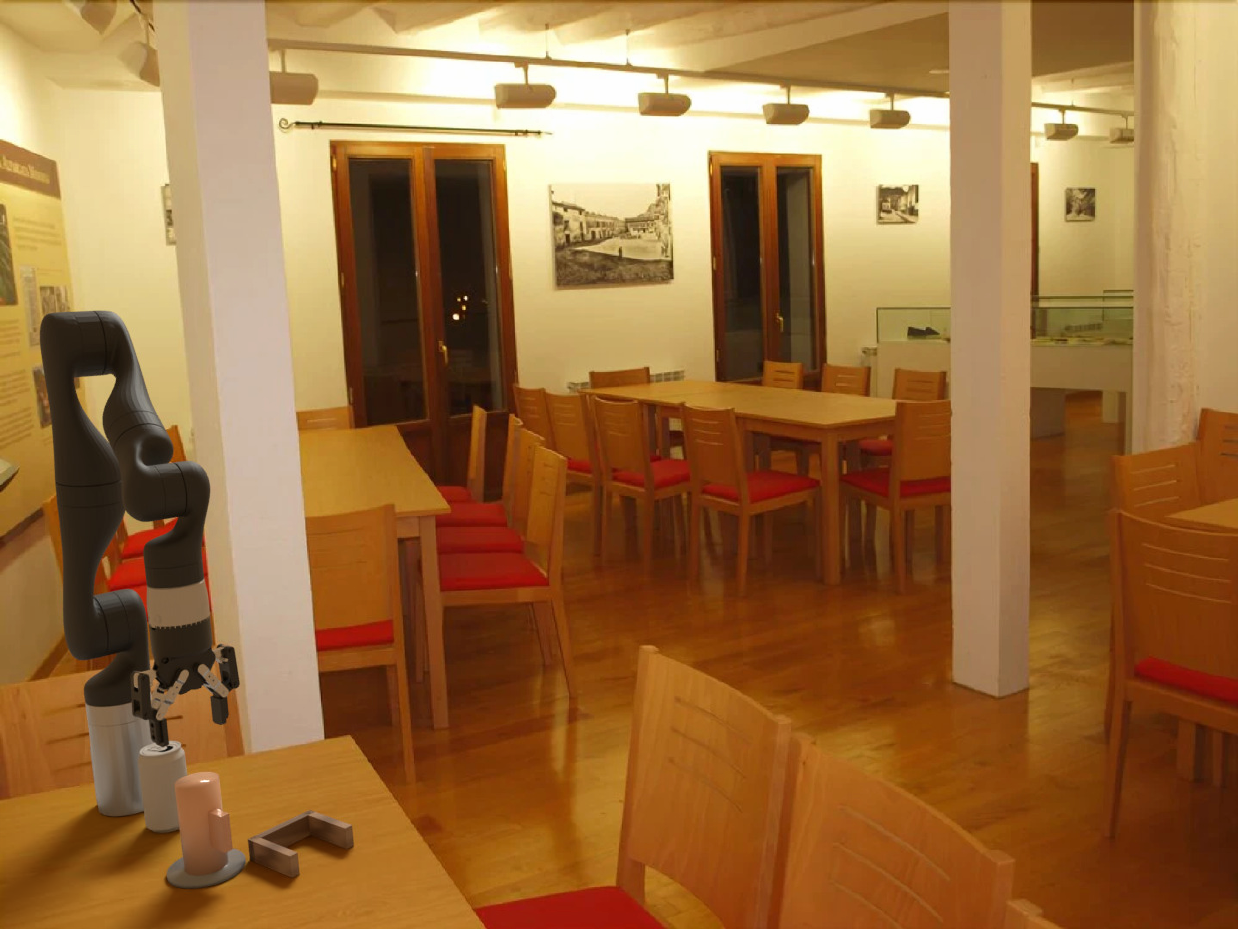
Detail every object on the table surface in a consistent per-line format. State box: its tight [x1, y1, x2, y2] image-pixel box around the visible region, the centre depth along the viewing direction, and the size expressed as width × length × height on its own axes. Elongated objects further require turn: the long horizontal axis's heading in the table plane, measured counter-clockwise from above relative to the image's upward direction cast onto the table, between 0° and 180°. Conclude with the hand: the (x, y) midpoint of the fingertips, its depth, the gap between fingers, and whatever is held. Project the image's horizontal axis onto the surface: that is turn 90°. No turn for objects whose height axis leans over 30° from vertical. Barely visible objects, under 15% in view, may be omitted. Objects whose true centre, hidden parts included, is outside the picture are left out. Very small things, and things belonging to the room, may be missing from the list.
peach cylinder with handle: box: [175, 771, 234, 876], centre depth 154 cm, size 8×6×12 cm, turn 53°
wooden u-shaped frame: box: [247, 809, 355, 879], centre depth 159 cm, size 9×10×3 cm
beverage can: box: [138, 740, 188, 834], centre depth 169 cm, size 6×6×12 cm
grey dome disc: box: [166, 848, 247, 890], centre depth 156 cm, size 10×10×1 cm
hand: (191, 734), depth 153 cm, fingers open, 8 cm apart
